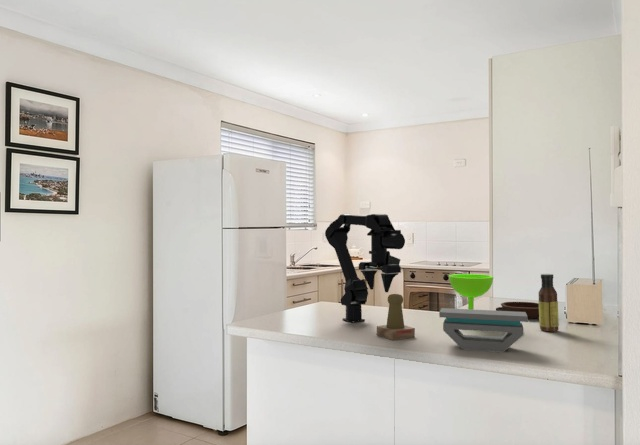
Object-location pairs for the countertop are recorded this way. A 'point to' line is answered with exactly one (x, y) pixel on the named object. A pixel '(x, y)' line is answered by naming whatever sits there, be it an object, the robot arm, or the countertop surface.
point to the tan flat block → (395, 332)
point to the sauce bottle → (548, 305)
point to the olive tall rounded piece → (395, 312)
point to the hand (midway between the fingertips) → (379, 290)
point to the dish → (521, 308)
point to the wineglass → (471, 285)
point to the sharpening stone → (483, 328)
